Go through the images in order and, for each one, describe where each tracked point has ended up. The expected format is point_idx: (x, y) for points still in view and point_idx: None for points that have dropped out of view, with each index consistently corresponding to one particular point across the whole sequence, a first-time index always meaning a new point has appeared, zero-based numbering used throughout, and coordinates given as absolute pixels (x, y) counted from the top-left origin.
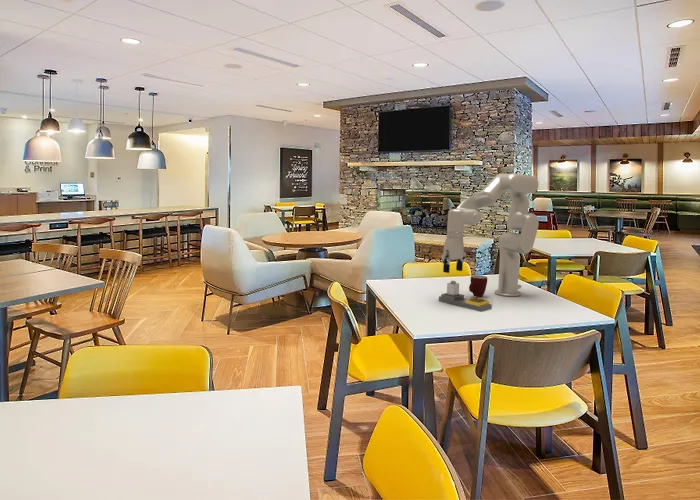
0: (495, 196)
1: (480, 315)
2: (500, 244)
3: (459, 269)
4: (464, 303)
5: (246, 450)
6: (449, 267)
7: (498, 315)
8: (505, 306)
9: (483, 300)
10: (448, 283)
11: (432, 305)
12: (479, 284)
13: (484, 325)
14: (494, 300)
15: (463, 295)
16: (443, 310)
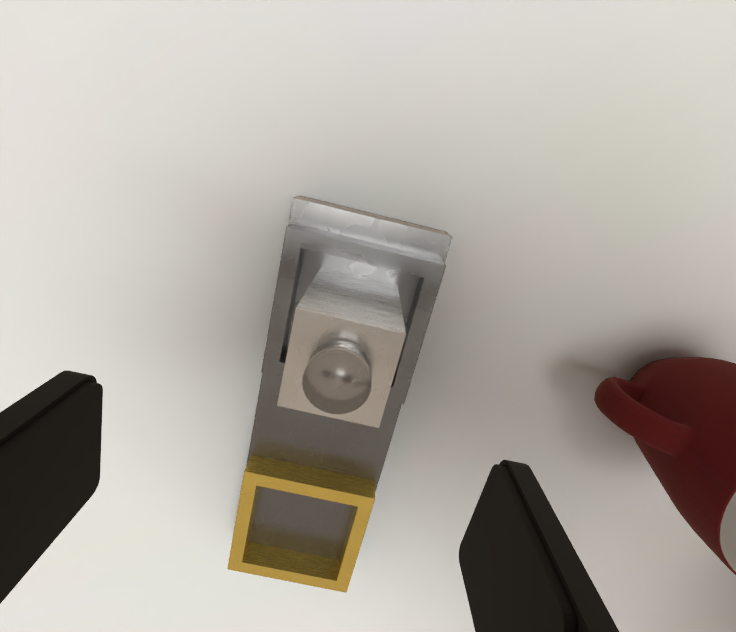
0: None
1: (158, 557)
2: None
3: (476, 541)
4: (250, 448)
5: None
6: (4, 585)
7: (234, 619)
8: (459, 597)
9: (342, 555)
10: (292, 328)
11: (129, 223)
12: (670, 494)
13: (7, 620)
14: (586, 511)
15: (394, 400)
16: (74, 355)
